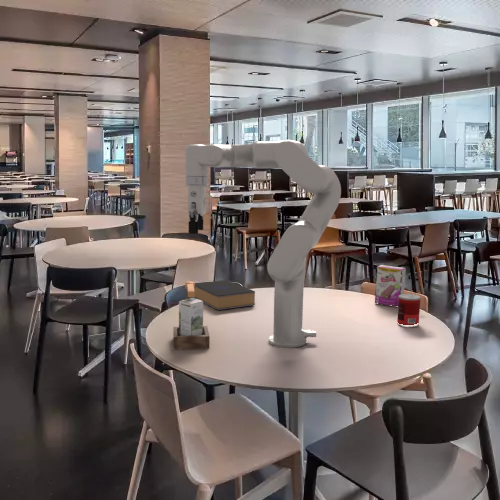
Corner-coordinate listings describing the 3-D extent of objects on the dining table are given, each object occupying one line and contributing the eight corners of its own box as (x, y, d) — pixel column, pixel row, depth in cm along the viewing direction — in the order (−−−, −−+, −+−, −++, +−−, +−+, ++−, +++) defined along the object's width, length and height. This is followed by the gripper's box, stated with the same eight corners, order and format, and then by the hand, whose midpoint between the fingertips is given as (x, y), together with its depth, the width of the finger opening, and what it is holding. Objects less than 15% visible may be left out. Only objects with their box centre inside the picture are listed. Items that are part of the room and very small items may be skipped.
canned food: (422, 324, 214) (424, 296, 213) (412, 329, 209) (413, 299, 207) (403, 320, 219) (405, 292, 218) (393, 324, 214) (394, 296, 212)
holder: (206, 331, 202) (206, 286, 199) (209, 348, 184) (209, 298, 182) (173, 332, 200) (173, 287, 198) (173, 349, 183) (173, 299, 180)
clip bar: (194, 287, 197) (194, 281, 197) (196, 297, 183) (196, 291, 183) (185, 287, 197) (185, 281, 196) (186, 297, 182) (186, 291, 182)
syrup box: (190, 339, 193) (190, 297, 191) (203, 343, 190) (203, 300, 187) (178, 343, 189) (178, 300, 187) (191, 347, 185) (191, 303, 183)
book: (226, 294, 259) (226, 280, 258) (255, 306, 238) (255, 291, 237) (191, 298, 250) (191, 283, 249) (217, 312, 229) (218, 295, 228)
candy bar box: (374, 304, 244) (376, 266, 241) (378, 301, 248) (380, 264, 245) (400, 308, 238) (402, 269, 235) (403, 305, 242) (406, 267, 239)
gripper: (203, 183, 185) (202, 235, 188) (211, 180, 202) (210, 229, 205) (180, 182, 186) (179, 234, 189) (190, 180, 203) (190, 228, 206)
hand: (196, 231), depth 197 cm, fingers open, 9 cm apart
